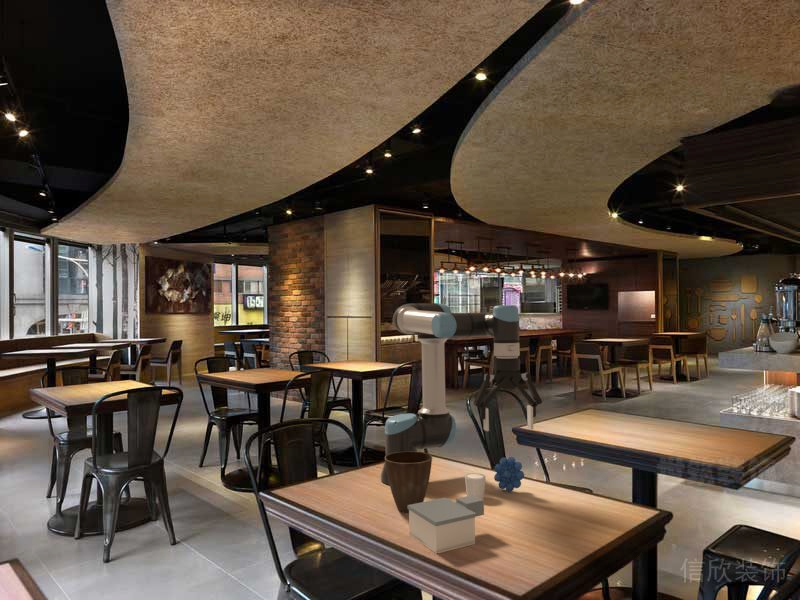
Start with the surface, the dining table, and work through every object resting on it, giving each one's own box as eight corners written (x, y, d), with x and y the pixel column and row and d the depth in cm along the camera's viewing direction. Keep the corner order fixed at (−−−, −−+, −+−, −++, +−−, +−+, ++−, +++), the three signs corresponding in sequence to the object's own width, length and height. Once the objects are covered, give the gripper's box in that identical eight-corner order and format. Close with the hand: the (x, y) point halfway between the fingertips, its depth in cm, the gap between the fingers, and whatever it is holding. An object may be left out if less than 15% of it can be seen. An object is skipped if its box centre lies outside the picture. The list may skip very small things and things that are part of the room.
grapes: (531, 492, 185) (530, 456, 185) (520, 497, 180) (519, 460, 180) (501, 485, 193) (500, 450, 193) (490, 489, 188) (490, 454, 188)
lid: (407, 516, 151) (407, 501, 151) (463, 504, 160) (463, 490, 160) (435, 534, 138) (435, 518, 138) (494, 520, 147) (494, 505, 147)
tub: (409, 534, 151) (409, 508, 151) (446, 526, 156) (445, 501, 157) (436, 553, 138) (435, 525, 139) (475, 543, 144) (474, 516, 144)
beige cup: (473, 492, 186) (473, 471, 186) (490, 497, 181) (489, 475, 181) (460, 497, 181) (460, 476, 181) (477, 502, 176) (477, 480, 176)
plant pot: (378, 504, 175) (377, 453, 176) (421, 497, 181) (420, 449, 181) (395, 520, 162) (394, 465, 162) (441, 512, 167) (440, 459, 168)
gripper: (469, 359, 157) (470, 433, 156) (552, 356, 161) (553, 429, 160) (462, 357, 164) (464, 428, 164) (541, 355, 168) (543, 424, 167)
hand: (508, 429), depth 162 cm, fingers open, 13 cm apart
